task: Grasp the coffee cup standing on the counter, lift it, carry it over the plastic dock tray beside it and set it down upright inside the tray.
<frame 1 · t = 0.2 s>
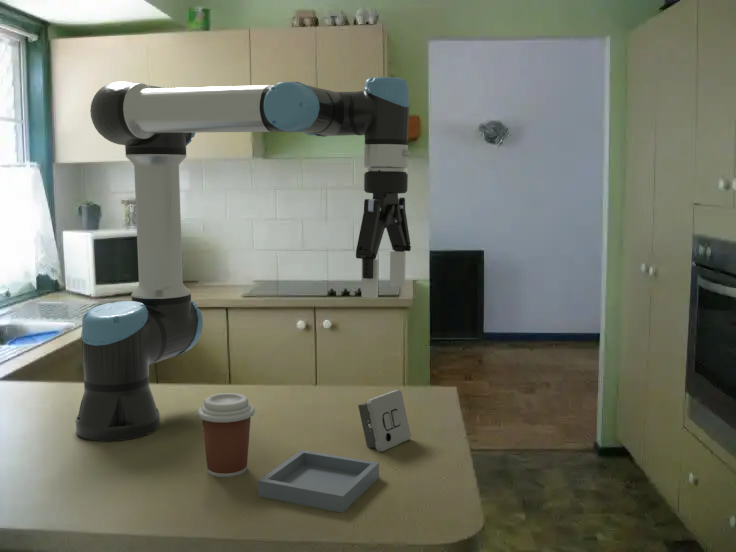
hand: (384, 292, 134), 28 cm above the countertop, tool pointing down, fingers open, 13 cm apart
coffee cup: (227, 470, 125), on the countertop
electrical switch: (383, 444, 138), on the countertop
dock tray: (320, 486, 118), on the countertop
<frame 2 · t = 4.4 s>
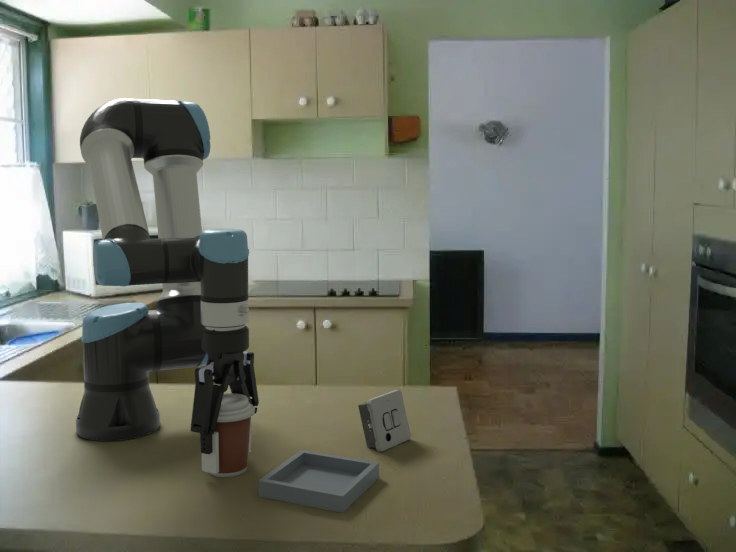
hand: (227, 460, 125), 1 cm above the countertop, tool pointing down, fingers closed on coffee cup, 9 cm apart
coffee cup: (227, 470, 125), on the countertop, touching gripper
everything else where it was.
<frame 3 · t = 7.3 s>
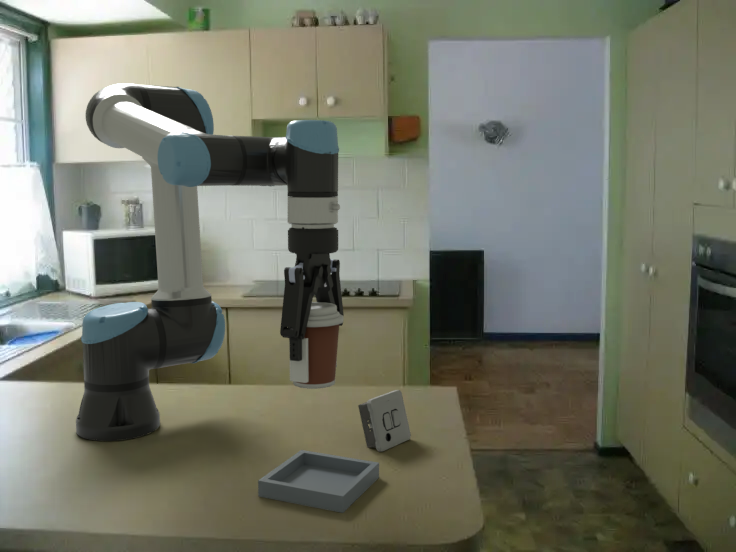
hand: (314, 373, 116), 18 cm above the countertop, tool pointing down, fingers closed on coffee cup, 9 cm apart
coffee cup: (314, 384, 116), point 16 cm above the countertop, touching gripper
everything else where it was.
when the fingers open (3 cm above the countertop, at t = 10.2 s): coffee cup drops 1 cm, resting on dock tray.
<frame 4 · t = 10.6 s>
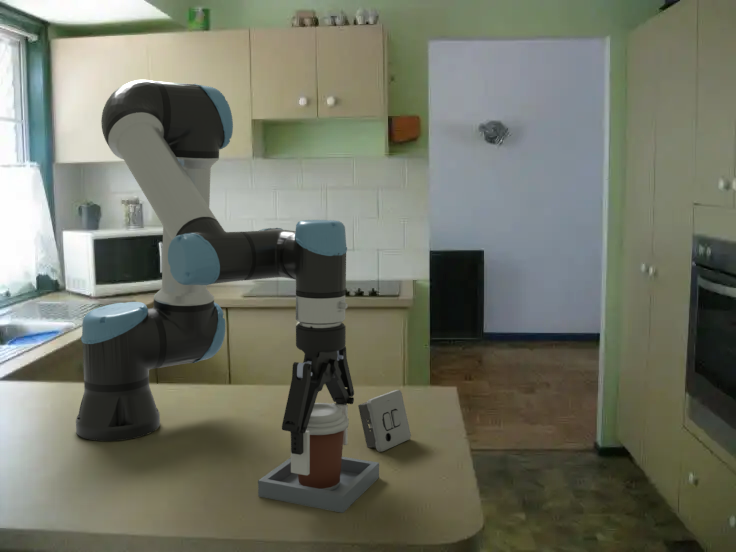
hand: (320, 457, 118), 5 cm above the countertop, tool pointing down, fingers open, 13 cm apart
coffee cup: (319, 485, 118), resting on dock tray
everything else where it was.
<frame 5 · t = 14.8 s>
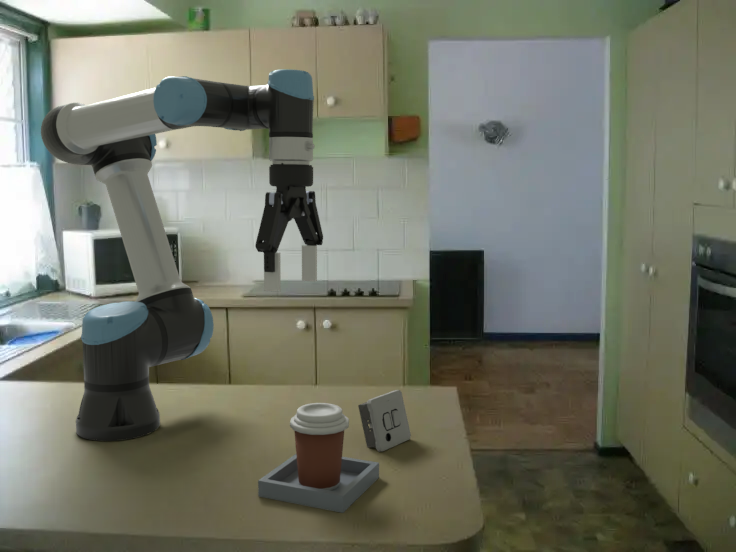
hand: (291, 286, 133), 29 cm above the countertop, tool pointing down, fingers open, 13 cm apart
nothing on the countertop moved.
at the end: coffee cup 0.3 cm off-centre on the dock tray, point 0.3 cm above the dock tray's base; coffee cup tilted 0°; the gripper is holding nothing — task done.
